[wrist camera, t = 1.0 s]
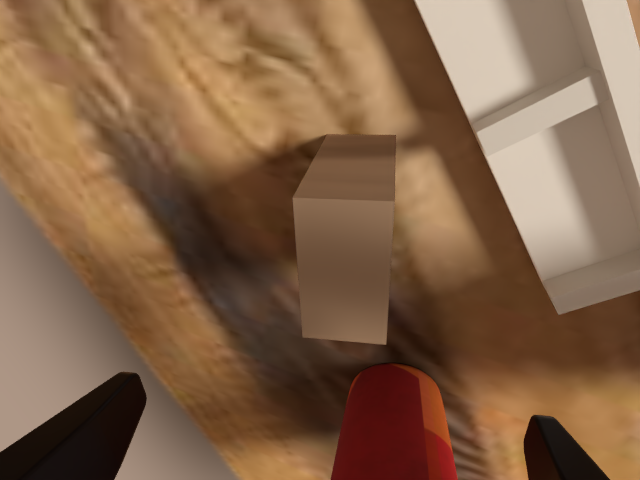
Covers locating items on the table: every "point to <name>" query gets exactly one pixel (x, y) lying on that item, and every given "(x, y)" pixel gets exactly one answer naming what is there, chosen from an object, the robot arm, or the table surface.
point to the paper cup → (394, 428)
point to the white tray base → (555, 130)
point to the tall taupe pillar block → (346, 238)
